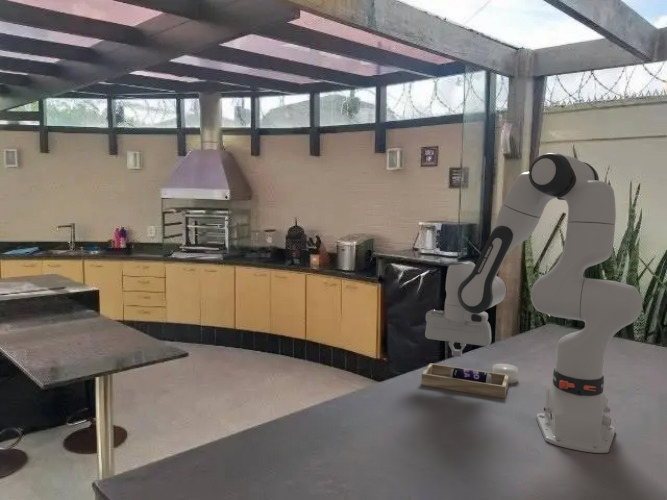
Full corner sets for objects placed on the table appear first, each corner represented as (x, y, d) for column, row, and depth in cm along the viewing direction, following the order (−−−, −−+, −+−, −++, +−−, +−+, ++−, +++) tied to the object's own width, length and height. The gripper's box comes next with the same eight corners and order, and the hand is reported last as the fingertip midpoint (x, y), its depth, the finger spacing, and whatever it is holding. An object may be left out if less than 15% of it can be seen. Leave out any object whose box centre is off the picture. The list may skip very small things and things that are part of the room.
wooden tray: (504, 398, 155) (505, 387, 154) (421, 384, 164) (421, 374, 164) (508, 385, 166) (508, 374, 165) (429, 373, 175) (430, 363, 175)
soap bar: (516, 385, 166) (517, 373, 166) (490, 381, 170) (491, 369, 169) (518, 377, 174) (519, 365, 173) (493, 373, 177) (494, 362, 176)
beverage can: (454, 370, 168) (492, 376, 163) (451, 387, 166) (490, 394, 161) (451, 364, 163) (491, 370, 159) (448, 382, 161) (488, 389, 156)
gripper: (423, 311, 165) (421, 353, 166) (490, 318, 157) (488, 363, 158) (428, 307, 171) (426, 348, 172) (493, 314, 163) (490, 357, 164)
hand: (456, 355), depth 165 cm, fingers closed
